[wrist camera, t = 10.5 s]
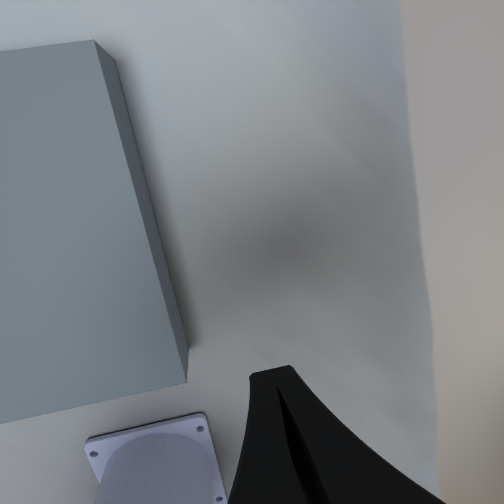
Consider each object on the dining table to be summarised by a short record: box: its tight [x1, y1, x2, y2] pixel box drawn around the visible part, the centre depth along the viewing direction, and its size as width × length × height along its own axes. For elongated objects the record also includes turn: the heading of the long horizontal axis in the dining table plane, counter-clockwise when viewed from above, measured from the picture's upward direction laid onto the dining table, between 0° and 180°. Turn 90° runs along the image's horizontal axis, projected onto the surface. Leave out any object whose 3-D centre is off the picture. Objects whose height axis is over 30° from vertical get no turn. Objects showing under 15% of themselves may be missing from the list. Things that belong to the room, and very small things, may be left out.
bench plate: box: [0, 40, 189, 424], centre depth 15 cm, size 16×14×3 cm
